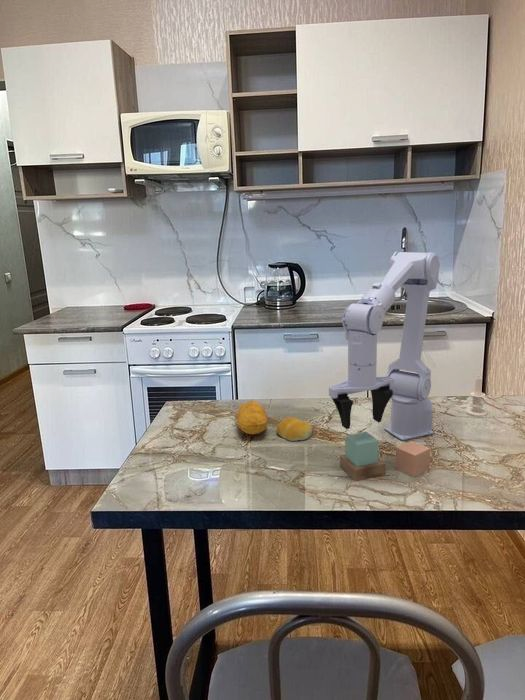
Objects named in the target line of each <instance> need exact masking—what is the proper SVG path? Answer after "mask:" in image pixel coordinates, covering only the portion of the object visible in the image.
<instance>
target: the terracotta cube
mask: <svg viewBox="0 0 525 700" xmlns="http://www.w3.org/2000/svg"><path fill="white" fill-rule="evenodd" d="M430 462H431V448H430V447H429V446H425V445H423V444H420V443H418V442H415V441H412V440H410V441H407V442H405V443H403V444H400V445H398V446H396V447H395V463H394V464H395V469H396V470H398V471H400V472H403V473H404V474H406V475H408V476H411V477H413V478H415V477H418V476H419V475H421V474H424V473H426V472H427V471H429V470H430V465H431V463H430Z"/></svg>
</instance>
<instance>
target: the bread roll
mask: <svg viewBox="0 0 525 700" xmlns="http://www.w3.org/2000/svg"><path fill="white" fill-rule="evenodd" d="M276 433H277V434H278V435H279V436H280V437H281V438H284V439H285V440H288V441H291V442H298V440H300V441H305V439H306V440H308V439H309V438H310V437H311V436H312V435H313V427H312V425H311V424H310V423H309V422H308V421H307V422H306V421H302V420H301V419H299V418H297V417H294V416H293V417H291V416H290V417H286V418H284V419H282V420H281V421H280V422H279V423H278V425H277V427H276Z"/></svg>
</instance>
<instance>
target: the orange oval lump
mask: <svg viewBox="0 0 525 700" xmlns="http://www.w3.org/2000/svg"><path fill="white" fill-rule="evenodd" d="M236 422H237V423H236V424H237V427H238V428H239V430H241V431H243V432H244V433H245V434H249V435H258V434H260V433H262V432H265V430H266V428H267V426H268V415H267V412H266V410H265V408H264V406H262V405H261V404H260V403H259V402H258V401H256V400H255V401H254V400H253V401H252V400H251V401H246V402H244V403H242V404H241V405H240V406H238V410H237V414H236Z"/></svg>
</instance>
